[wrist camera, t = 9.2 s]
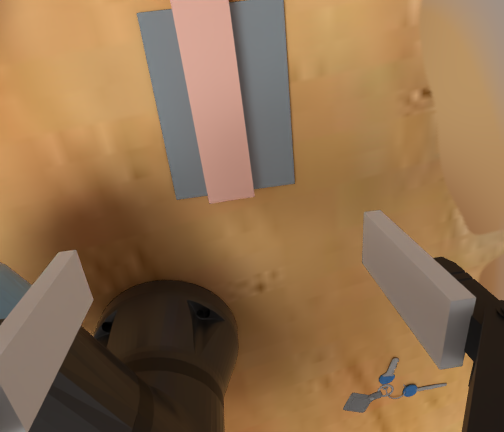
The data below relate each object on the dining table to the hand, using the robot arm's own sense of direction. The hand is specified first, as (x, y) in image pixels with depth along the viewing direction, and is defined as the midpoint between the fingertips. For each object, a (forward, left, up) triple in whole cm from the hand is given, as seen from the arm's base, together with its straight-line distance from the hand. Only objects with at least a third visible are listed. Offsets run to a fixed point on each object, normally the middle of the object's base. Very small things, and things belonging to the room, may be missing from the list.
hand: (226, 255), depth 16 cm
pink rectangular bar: (+6, 0, -17) cm, 18 cm away
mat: (+4, -1, -17) cm, 18 cm away
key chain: (-32, -17, -18) cm, 40 cm away
